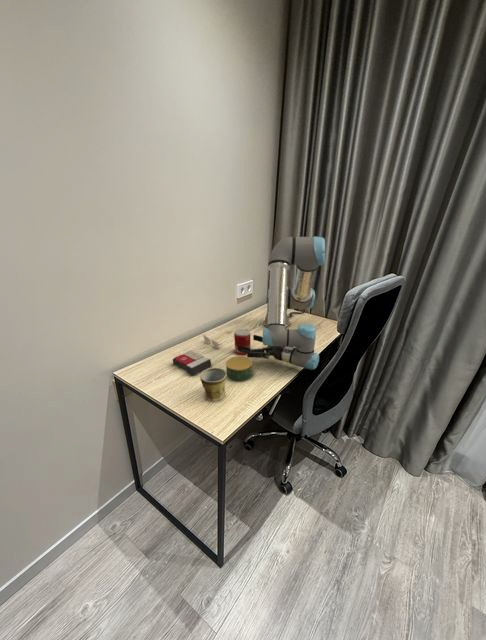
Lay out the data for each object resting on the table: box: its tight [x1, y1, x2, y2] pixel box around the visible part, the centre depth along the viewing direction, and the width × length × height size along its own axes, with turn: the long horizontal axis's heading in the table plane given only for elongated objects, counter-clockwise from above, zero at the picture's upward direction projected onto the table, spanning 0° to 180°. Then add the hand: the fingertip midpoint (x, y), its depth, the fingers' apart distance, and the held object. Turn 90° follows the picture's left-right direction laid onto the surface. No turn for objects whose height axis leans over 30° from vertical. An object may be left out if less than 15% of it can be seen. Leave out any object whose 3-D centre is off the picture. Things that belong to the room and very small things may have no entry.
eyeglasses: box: [202, 328, 234, 349], centre depth 154 cm, size 15×18×4 cm
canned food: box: [233, 328, 252, 356], centre depth 140 cm, size 8×8×11 cm
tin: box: [225, 355, 253, 382], centre depth 123 cm, size 11×11×6 cm
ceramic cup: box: [199, 366, 227, 402], centre depth 110 cm, size 13×10×10 cm
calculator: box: [172, 350, 212, 376], centre depth 131 cm, size 11×4×15 cm
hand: (246, 342), depth 139 cm, fingers open, 13 cm apart
